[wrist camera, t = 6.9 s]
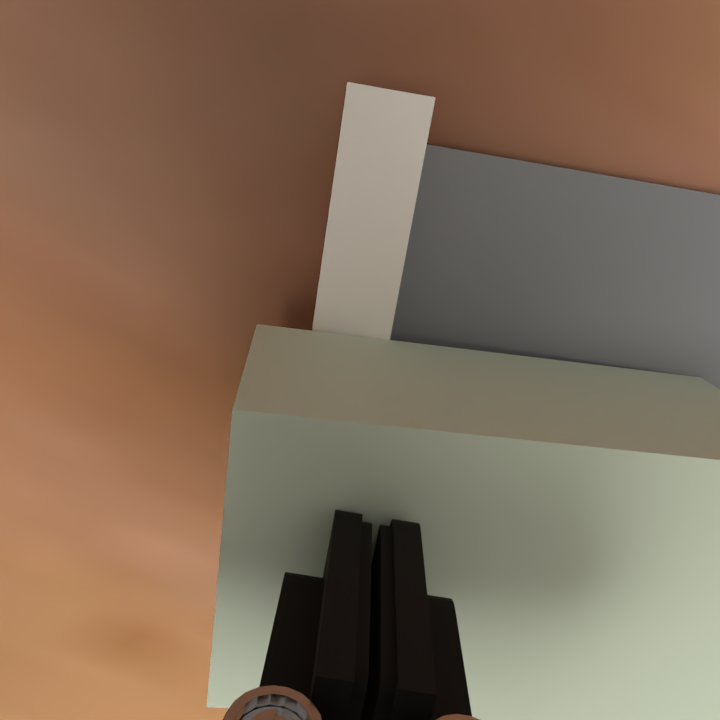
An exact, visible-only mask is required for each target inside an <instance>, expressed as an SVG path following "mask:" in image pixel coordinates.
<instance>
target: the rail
mask: <svg viewBox="0 0 720 720" xmlns="http://www.w3.org/2000/svg"><path fill="white" fill-rule="evenodd" d="M435 98H436V97H431V96H425V95H419V94H413V93H408V92H402V91H396V90H391V89H385V88H379V87H374V86H368V85H362V84H356V83H351V82H347V88H346V95H345V102H344V109H343V116H342V123H341V130H340V137H339V144H338V151H337V158H336V165H335V172H334V179H333V186H332V193H331V200H330V207H329V214H328V221H327V228H326V235H325V242H324V249H323V256H322V263H321V270H320V277H319V284H318V291H317V299H316V306H315V313H314V320H313V327H312V331H320V332H328V333H336V334H345V335H353V336H361V337H370V338H378V339H386V340H390V336H391V331H392V326H393V320H394V315H395V310H396V304H397V299H398V294H399V288H400V283H401V278H402V273H403V267H404V262H405V257H406V251H407V246H408V241H409V235H410V230H411V225H412V220H413V214H414V209H415V204H416V198H417V193H418V188H419V182H420V177H421V172H422V167H423V161H424V156H425V151H426V145H427V140H428V135H429V129H430V124H431V119H432V114H433V108H434V103H435Z"/></svg>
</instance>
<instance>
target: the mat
mask: <svg viewBox="0 0 720 720" xmlns="http://www.w3.org/2000/svg"><path fill="white" fill-rule="evenodd" d="M390 340H395V341H403V342H411V343H420V344H428V345H436V346H445V347H453V348H461V349H470V350H478V351H486V352H494V353H503V354H511V355H519V356H528V357H536V358H544V359H553V360H561V361H569V362H578V363H586V364H594V365H603V366H611V367H619V368H628V369H636V370H644V371H653V372H661V373H669V374H677V375H686V376H694V377H701V378H703V379H704V380H706V381H708V382H709V383H711V384H712V385H714V386H715V387H717V388H718V389H720V195H717V194H711V193H706V192H700V191H694V190H688V189H683V188H677V187H671V186H665V185H659V184H654V183H648V182H642V181H636V180H631V179H625V178H619V177H613V176H608V175H602V174H596V173H590V172H585V171H579V170H573V169H567V168H561V167H556V166H550V165H544V164H538V163H533V162H527V161H521V160H515V159H510V158H504V157H498V156H492V155H487V154H481V153H475V152H469V151H463V150H458V149H452V148H446V147H440V146H435V145H429V144H427V145H426V151H425V156H424V161H423V167H422V172H421V177H420V182H419V188H418V193H417V198H416V204H415V209H414V214H413V220H412V225H411V230H410V235H409V241H408V246H407V251H406V257H405V262H404V267H403V273H402V278H401V283H400V288H399V294H398V299H397V304H396V310H395V315H394V320H393V326H392V331H391V336H390Z"/></svg>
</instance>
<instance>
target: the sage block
mask: <svg viewBox="0 0 720 720" xmlns="http://www.w3.org/2000/svg"><path fill="white" fill-rule="evenodd" d="M335 510H342V511H348V512H354V513H360V514H362V515H363V519H362V522H368V523H372V558H371V564H372V559H373V554H374V550H375V545H376V540H377V536H378V531H379V527H380V525H386V526H390V523H391V520H392V519H396V520H402V521H409V522H415V523H419V524H420V527H421V537H422V547H423V557H424V567H425V577H426V587H427V595H432V596H438V597H445V598H451V599H452V600H453V602H454V606H455V611H456V617H457V624H458V630H459V637H460V643H461V649H462V656H463V662H464V668H465V675H466V681H467V687H468V694H469V700H470V707H471V713H472V717H475V718H477V719H479V720H720V389H718V388H717V387H715V386H714V385H712V384H711V383H709V382H708V381H706V380H704V379H703V378H701V377H694V376H686V375H677V374H669V373H661V372H653V371H644V370H636V369H628V368H619V367H611V366H603V365H594V364H586V363H578V362H569V361H561V360H553V359H544V358H536V357H528V356H519V355H511V354H503V353H494V352H486V351H478V350H470V349H461V348H453V347H445V346H436V345H428V344H420V343H411V342H403V341H395V340H386V339H378V338H370V337H361V336H353V335H345V334H336V333H328V332H320V331H311V330H303V329H295V328H286V327H278V326H270V325H262V324H257V325H256V329H255V332H254V336H253V339H252V343H251V346H250V350H249V353H248V356H247V360H246V363H245V367H244V370H243V374H242V377H241V381H240V384H239V388H238V391H237V395H236V398H235V402H234V405H233V409H232V419H231V431H230V442H229V454H228V465H227V477H226V488H225V500H224V512H223V523H222V535H221V546H220V558H219V569H218V581H217V593H216V604H215V616H214V627H213V639H212V650H211V662H210V674H209V685H208V697H207V707H213V708H230V706H231V705H232V703H233V702H234V701H235V700H236V699H237V698H239V697H240V696H241V695H242V694H244V693H245V692H247V691H250V690H252V689H255V688H257V687H259V686H260V681H261V677H262V672H263V668H264V663H265V659H266V654H267V650H268V645H269V641H270V636H271V632H272V627H273V623H274V618H275V614H276V609H277V605H278V600H279V596H280V592H281V587H282V583H283V578H284V574H285V572H290V573H296V574H302V575H308V576H314V577H321V578H323V574H324V569H325V563H326V558H327V552H328V547H329V541H330V536H331V530H332V525H333V519H334V514H335Z"/></svg>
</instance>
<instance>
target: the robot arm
mask: <svg viewBox="0 0 720 720" xmlns="http://www.w3.org/2000/svg"><path fill="white" fill-rule="evenodd" d="M362 519H363V515H362V514H360V513H354V512H348V511H342V510H335V514H334V519H333V525H332V530H331V536H330V541H329V547H328V552H327V558H326V563H325V569H324V574H323V578H321V577H314V576H308V575H302V574H296V573H290V572H285V574H284V578H283V583H282V587H281V592H280V596H279V600H278V605H277V609H276V614H275V618H274V623H273V627H272V632H271V636H270V641H269V645H268V650H267V654H266V659H265V663H264V668H263V672H262V677H261V681H260V686H259V687H257V688H255V689H252V690H250V691H247V692H245V693H244V694H242V695H241V696H240V697H239V698H237V699H236V700H235V701H234V702H233V703H232V705H231V706H230V708H229V709H228V711H227V712H226V714H225V716H224V718H223V720H479V719H477V718H475V717H472V713H471V707H470V700H469V694H468V687H467V681H466V675H465V668H464V662H463V656H462V649H461V643H460V637H459V630H458V624H457V617H456V611H455V606H454V602H453V600H452V599H451V598H445V597H438V596H432V595H427V587H426V577H425V567H424V557H423V547H422V537H421V527H420V524H419V523H415V522H409V521H402V520H396V519H392V520H391V523H390V526H386V525H380V527H379V531H378V536H377V540H376V545H375V550H374V554H373V559H372V564H371V558H372V523H368V522H362Z"/></svg>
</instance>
